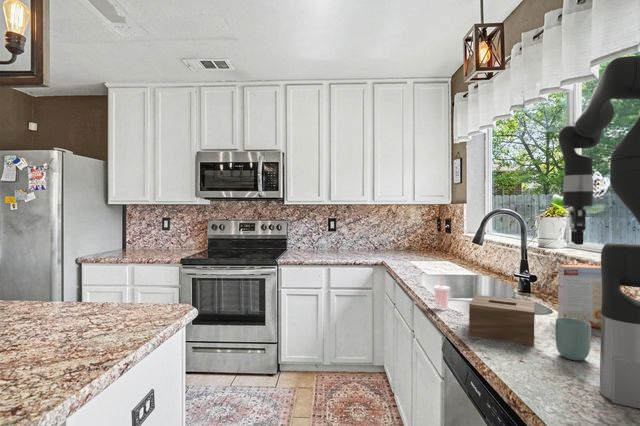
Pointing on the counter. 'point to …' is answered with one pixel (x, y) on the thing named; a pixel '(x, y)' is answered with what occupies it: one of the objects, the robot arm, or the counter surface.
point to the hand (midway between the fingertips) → (576, 243)
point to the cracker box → (580, 293)
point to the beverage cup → (441, 295)
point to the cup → (573, 338)
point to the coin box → (502, 319)
